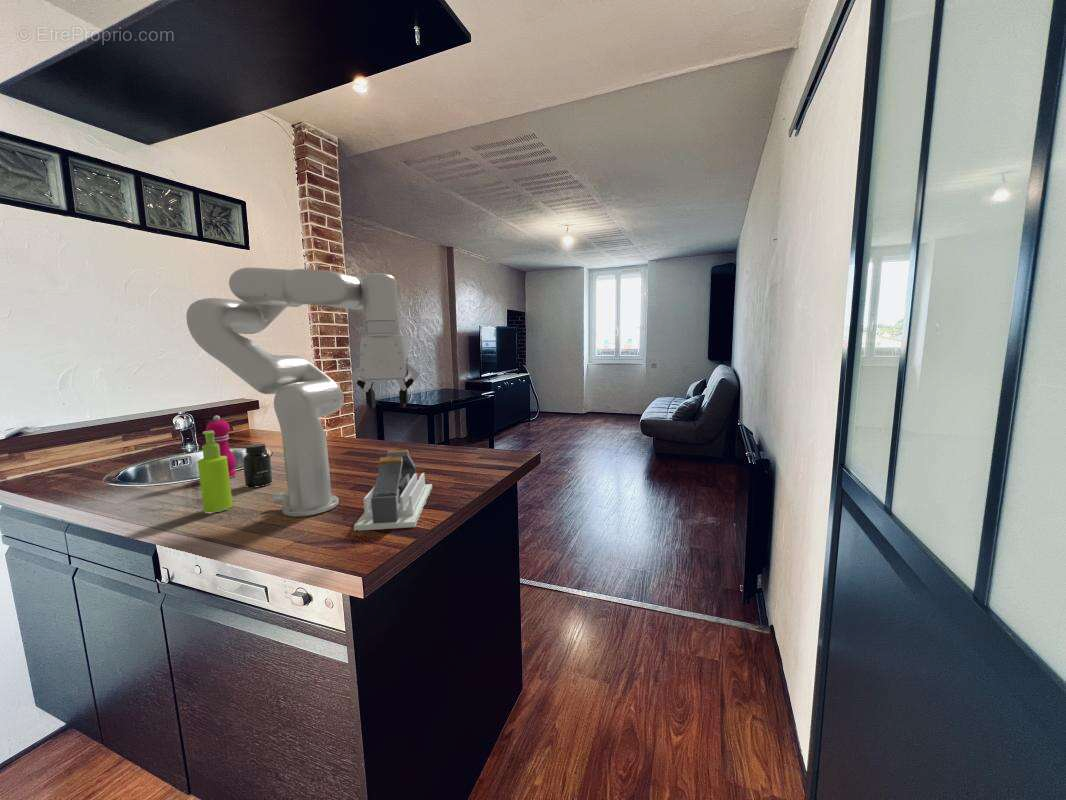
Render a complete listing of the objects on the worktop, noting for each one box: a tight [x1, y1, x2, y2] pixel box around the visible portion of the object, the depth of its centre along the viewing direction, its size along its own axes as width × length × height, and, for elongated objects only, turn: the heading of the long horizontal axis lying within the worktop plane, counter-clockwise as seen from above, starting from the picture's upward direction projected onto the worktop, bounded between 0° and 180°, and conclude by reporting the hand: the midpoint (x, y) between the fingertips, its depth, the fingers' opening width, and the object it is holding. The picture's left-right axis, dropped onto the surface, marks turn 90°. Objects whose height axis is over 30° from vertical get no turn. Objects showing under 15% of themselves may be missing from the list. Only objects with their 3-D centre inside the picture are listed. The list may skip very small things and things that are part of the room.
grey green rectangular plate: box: [386, 449, 416, 469], centre depth 111 cm, size 5×10×2 cm
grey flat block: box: [373, 456, 403, 497], centre depth 97 cm, size 5×10×2 cm
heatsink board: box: [353, 465, 433, 532], centre depth 105 cm, size 13×26×7 cm, turn 5°
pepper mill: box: [205, 415, 237, 477], centre depth 134 cm, size 7×7×20 cm
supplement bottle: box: [242, 443, 273, 488], centre depth 126 cm, size 7×7×12 cm
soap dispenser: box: [197, 430, 234, 512], centre depth 106 cm, size 6×7×20 cm
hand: (387, 406), depth 99 cm, fingers open, 6 cm apart
